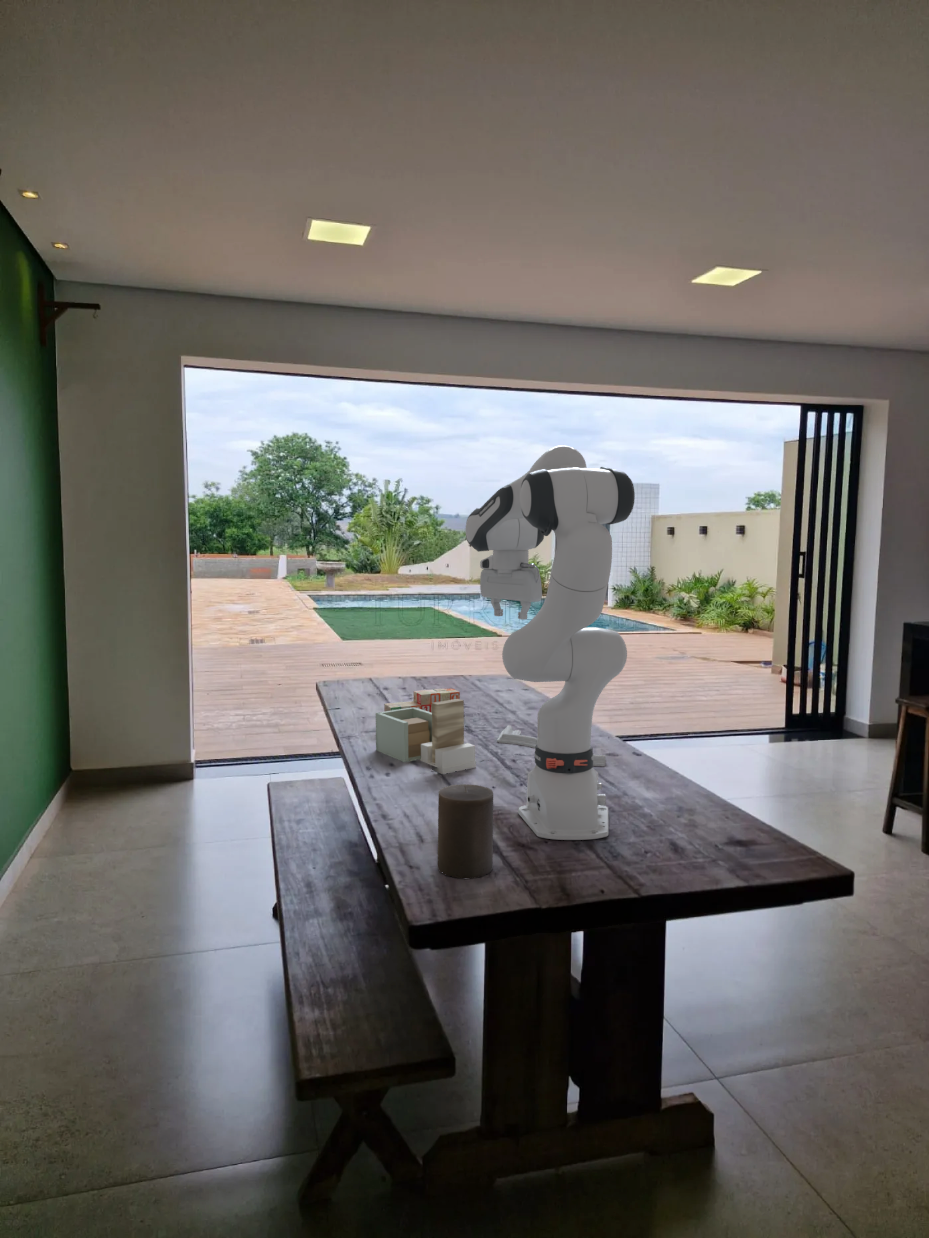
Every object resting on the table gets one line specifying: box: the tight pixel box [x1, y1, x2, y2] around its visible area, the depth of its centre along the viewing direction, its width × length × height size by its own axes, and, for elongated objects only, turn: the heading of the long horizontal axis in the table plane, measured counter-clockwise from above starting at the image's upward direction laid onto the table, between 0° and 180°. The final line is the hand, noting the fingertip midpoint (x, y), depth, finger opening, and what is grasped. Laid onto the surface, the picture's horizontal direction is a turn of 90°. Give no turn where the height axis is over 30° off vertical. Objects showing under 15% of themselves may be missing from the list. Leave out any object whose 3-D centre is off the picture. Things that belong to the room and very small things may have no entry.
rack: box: [375, 707, 432, 763], centre depth 214 cm, size 14×12×11 cm
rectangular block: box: [432, 699, 465, 763], centre depth 205 cm, size 2×8×15 cm, turn 126°
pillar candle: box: [437, 783, 494, 879], centre depth 143 cm, size 10×10×15 cm
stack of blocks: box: [383, 687, 461, 713], centre depth 239 cm, size 21×6×12 cm, turn 113°
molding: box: [496, 724, 607, 767], centre depth 221 cm, size 42×12×3 cm, turn 35°
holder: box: [419, 742, 477, 775], centre depth 205 cm, size 10×10×6 cm
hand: (510, 617), depth 205 cm, fingers open, 8 cm apart
